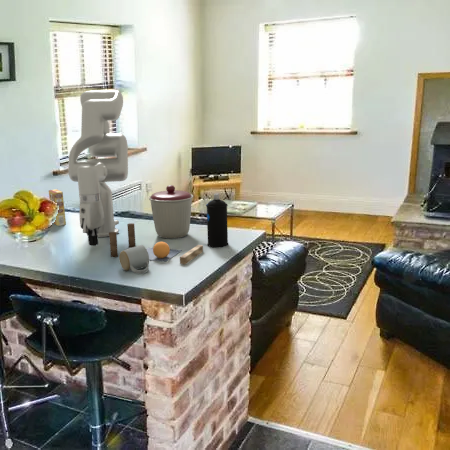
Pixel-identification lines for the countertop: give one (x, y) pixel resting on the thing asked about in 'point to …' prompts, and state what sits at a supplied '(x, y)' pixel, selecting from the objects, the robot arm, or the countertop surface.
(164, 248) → the ball
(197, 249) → the wall
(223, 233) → the aerosol can
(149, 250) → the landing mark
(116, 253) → the post
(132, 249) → the ceramic mug
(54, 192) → the candy box
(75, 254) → the countertop surface
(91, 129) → the robot arm
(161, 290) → the countertop surface
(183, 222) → the canister
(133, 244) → the post
